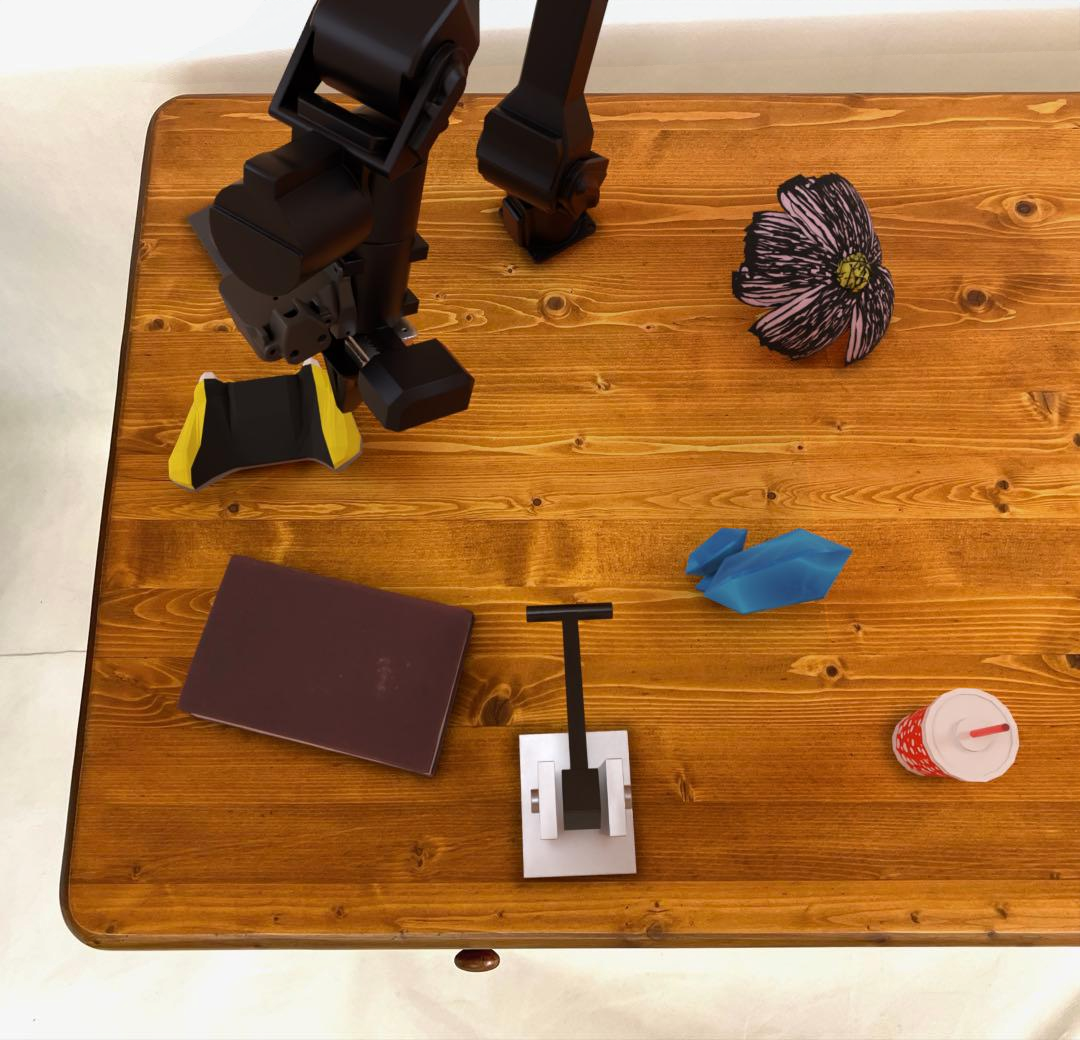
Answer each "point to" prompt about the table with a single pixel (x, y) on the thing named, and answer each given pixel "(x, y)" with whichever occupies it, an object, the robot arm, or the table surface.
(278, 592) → the book
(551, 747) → the bracket
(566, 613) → the lever
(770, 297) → the decorative flower
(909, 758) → the beverage cup
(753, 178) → the table surface
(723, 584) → the crystal
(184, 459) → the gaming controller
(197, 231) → the control block
